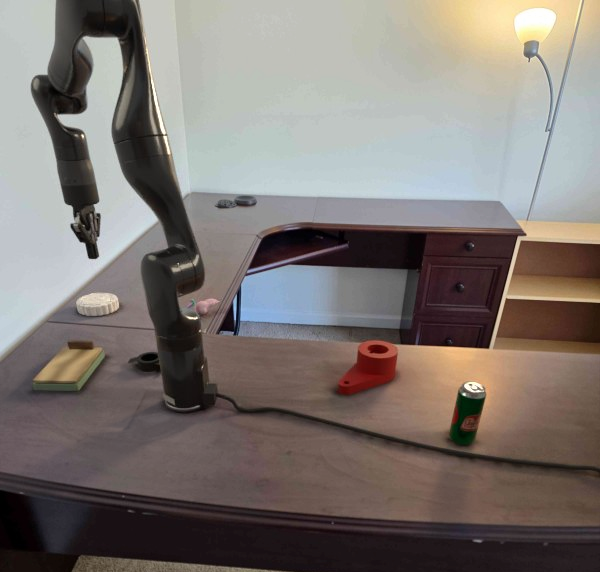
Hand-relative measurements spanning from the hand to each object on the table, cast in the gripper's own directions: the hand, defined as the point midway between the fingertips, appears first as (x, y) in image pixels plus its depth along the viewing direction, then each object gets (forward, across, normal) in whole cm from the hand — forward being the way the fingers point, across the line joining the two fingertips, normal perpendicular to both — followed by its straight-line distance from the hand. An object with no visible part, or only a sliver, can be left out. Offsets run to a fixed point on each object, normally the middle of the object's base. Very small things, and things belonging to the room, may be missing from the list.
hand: (94, 258), depth 120 cm
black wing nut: (+23, -13, -14) cm, 30 cm away
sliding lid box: (+23, -16, +4) cm, 29 cm away
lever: (+23, -17, -66) cm, 72 cm away
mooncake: (+23, +24, +12) cm, 35 cm away
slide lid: (+21, -17, +4) cm, 27 cm away
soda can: (+23, -40, -83) cm, 95 cm away
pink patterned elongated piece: (+23, +20, -20) cm, 36 cm away
